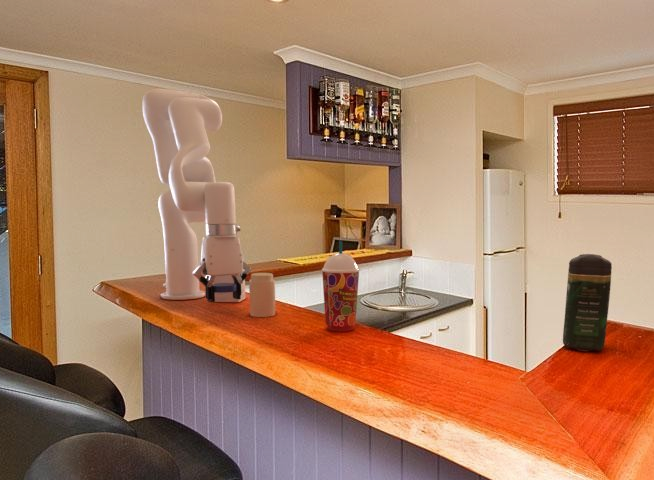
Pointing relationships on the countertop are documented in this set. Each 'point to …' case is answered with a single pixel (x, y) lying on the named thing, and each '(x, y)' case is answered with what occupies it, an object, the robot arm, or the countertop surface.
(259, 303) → the jar
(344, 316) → the smoothie
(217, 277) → the white packaging box
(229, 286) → the jar lid
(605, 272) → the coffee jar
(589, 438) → the countertop surface
